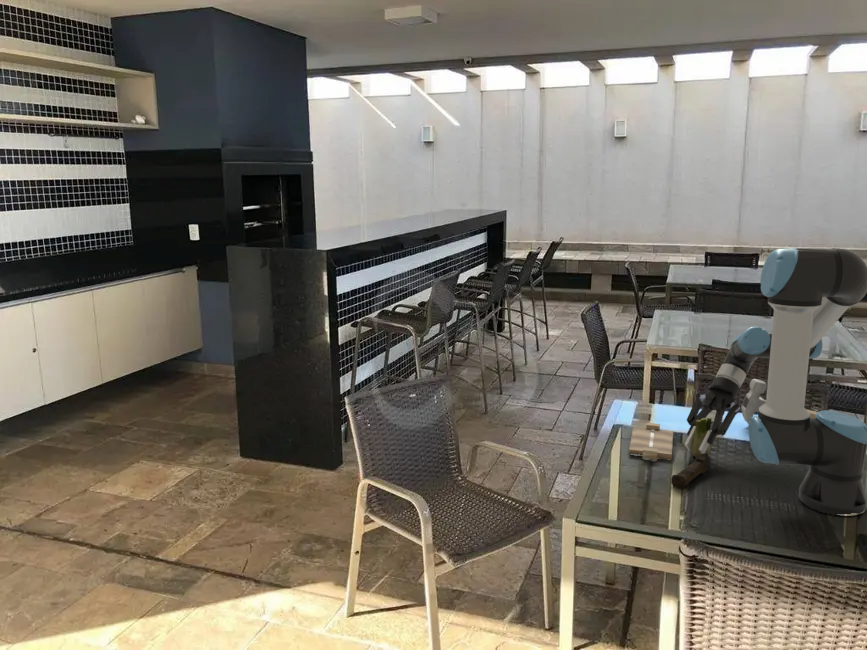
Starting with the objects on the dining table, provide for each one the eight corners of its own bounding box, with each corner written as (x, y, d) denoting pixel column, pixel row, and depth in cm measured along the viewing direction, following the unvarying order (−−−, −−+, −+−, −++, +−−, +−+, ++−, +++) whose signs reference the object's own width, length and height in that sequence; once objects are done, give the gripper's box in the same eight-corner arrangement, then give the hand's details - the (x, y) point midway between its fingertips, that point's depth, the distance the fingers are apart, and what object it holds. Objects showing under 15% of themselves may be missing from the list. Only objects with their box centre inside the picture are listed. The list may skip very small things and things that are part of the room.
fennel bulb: (707, 453, 208) (710, 415, 205) (713, 460, 204) (717, 421, 201) (687, 453, 208) (690, 415, 205) (693, 460, 204) (697, 421, 201)
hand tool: (684, 491, 186) (685, 475, 185) (670, 486, 189) (671, 471, 187) (716, 469, 198) (717, 454, 197) (702, 465, 201) (704, 450, 200)
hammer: (842, 398, 224) (750, 377, 225) (849, 403, 220) (755, 381, 220) (825, 442, 228) (734, 421, 229) (831, 448, 224) (739, 427, 224)
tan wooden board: (671, 463, 202) (672, 453, 201) (628, 458, 206) (628, 448, 205) (672, 434, 222) (673, 425, 221) (633, 430, 226) (633, 421, 225)
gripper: (758, 396, 205) (725, 464, 199) (704, 382, 218) (672, 446, 211) (752, 382, 201) (718, 452, 194) (697, 369, 213) (663, 434, 207)
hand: (694, 449), depth 203 cm, fingers closed on fennel bulb, 4 cm apart
